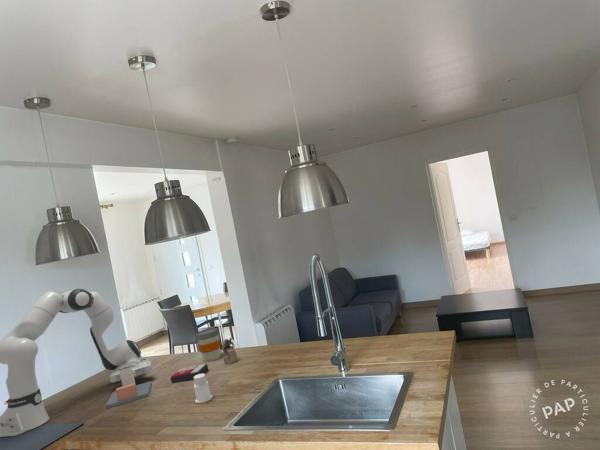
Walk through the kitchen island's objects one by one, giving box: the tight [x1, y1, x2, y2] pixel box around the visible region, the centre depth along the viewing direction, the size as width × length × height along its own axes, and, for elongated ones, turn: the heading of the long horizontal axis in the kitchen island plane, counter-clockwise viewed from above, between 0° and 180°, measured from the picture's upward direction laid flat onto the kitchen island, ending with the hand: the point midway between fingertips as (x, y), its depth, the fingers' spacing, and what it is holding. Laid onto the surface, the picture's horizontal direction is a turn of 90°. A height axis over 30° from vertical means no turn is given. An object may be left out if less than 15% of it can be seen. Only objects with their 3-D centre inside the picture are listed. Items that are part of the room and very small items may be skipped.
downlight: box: [193, 374, 213, 404], centre depth 181 cm, size 8×7×10 cm
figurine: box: [221, 337, 239, 366], centre depth 226 cm, size 7×7×12 cm
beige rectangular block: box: [118, 364, 137, 387], centre depth 209 cm, size 5×4×12 cm
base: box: [105, 380, 153, 410], centre depth 206 cm, size 18×18×6 cm
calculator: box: [170, 363, 210, 384], centre depth 216 cm, size 11×4×15 cm
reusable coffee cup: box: [195, 327, 222, 362], centre depth 240 cm, size 13×13×15 cm
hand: (129, 376), depth 215 cm, fingers closed
